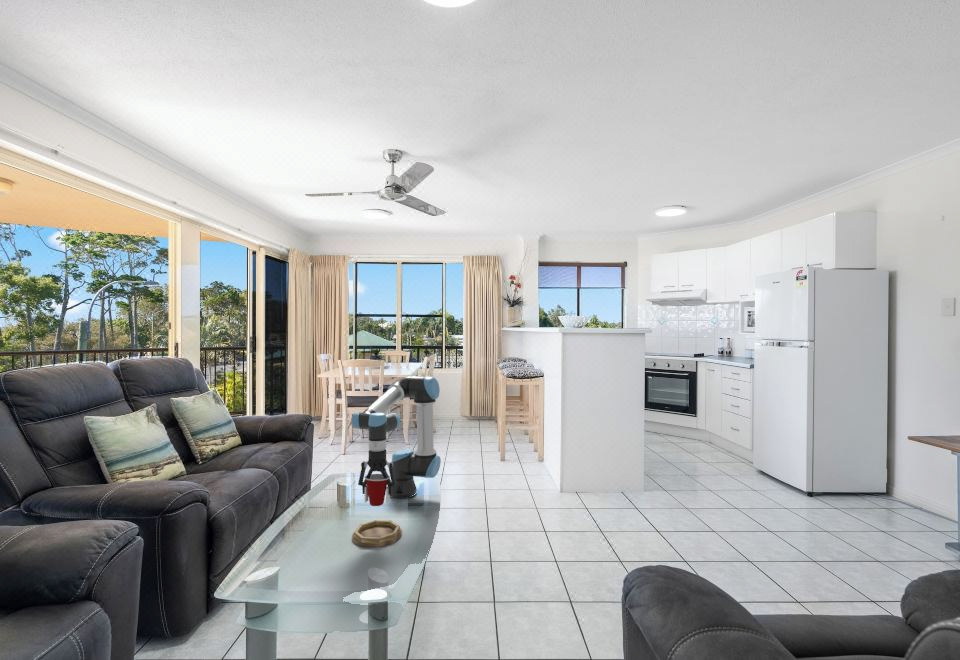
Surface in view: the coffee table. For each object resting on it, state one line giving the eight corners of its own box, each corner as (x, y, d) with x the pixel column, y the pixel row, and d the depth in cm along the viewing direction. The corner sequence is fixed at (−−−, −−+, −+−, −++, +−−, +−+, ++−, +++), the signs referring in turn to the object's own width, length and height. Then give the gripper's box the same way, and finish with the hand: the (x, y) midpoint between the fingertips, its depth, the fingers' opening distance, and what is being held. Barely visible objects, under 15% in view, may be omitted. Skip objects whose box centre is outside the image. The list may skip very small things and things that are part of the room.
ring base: (386, 521, 208) (386, 515, 208) (411, 537, 192) (411, 530, 192) (343, 534, 194) (343, 527, 194) (366, 552, 179) (366, 545, 179)
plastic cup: (394, 501, 196) (395, 474, 196) (379, 510, 186) (379, 481, 186) (374, 497, 200) (375, 470, 201) (358, 505, 191) (359, 477, 191)
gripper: (350, 451, 191) (349, 504, 190) (399, 452, 189) (399, 505, 189) (356, 446, 198) (355, 497, 198) (404, 447, 197) (403, 499, 196)
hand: (377, 501), depth 193 cm, fingers closed on plastic cup, 9 cm apart
